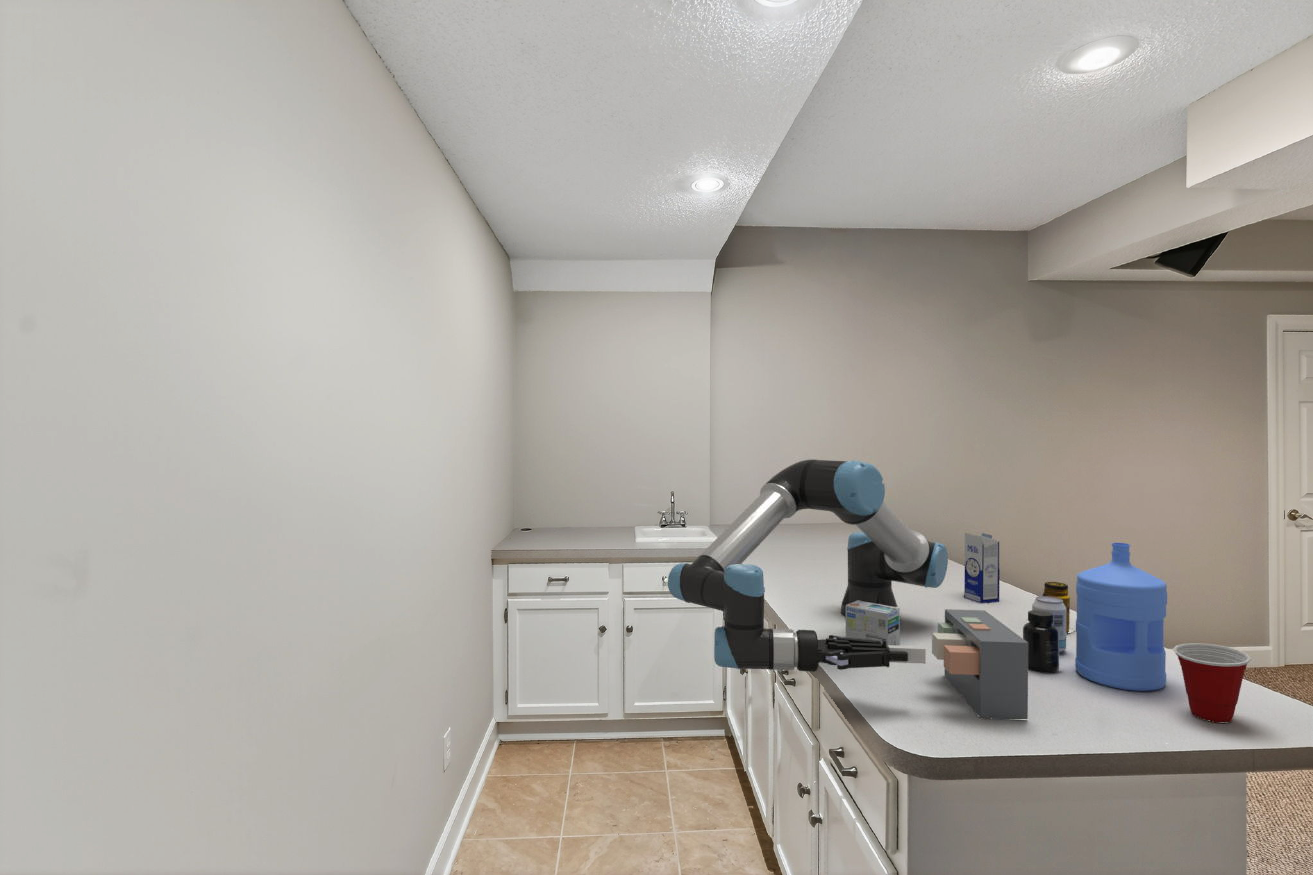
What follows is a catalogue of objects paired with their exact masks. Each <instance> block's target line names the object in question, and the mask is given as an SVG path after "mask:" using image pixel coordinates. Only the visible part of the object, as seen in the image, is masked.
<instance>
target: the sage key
mask: <svg viewBox="0 0 1313 875" xmlns="http://www.w3.org/2000/svg"><path fill="white" fill-rule="evenodd" d="M937 633H949V634H953V623H945V622H937Z"/></svg>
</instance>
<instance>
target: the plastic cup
mask: <svg viewBox="0 0 1313 875" xmlns="http://www.w3.org/2000/svg"><path fill="white" fill-rule="evenodd" d="M1172 649H1173V651H1174V653H1175V655H1176V656H1177V659H1178V661H1179V665H1180V667H1181V673H1182V678H1183V682H1184V688H1185V693H1186V695H1187V699H1188V707H1189V710H1190V713H1191V712H1192V713H1191V715H1192V714H1193V715H1192V716H1194V715H1195V716H1196V718H1197V717H1199V718H1198V719H1200V718H1201V719H1200V720H1202V719H1205V720H1204V721H1206V720H1210V721H1214V722H1213V723H1215V722H1230V721H1231V720H1232V721H1233V718H1234V715H1235V712H1236V706H1237V704H1238V702H1239V697H1240V692H1241V687H1242V684H1243V680H1244V675H1245V672H1246V670H1247V665H1248V664H1249V663H1250V661H1251V659H1252V658H1251V657H1250V656H1249V654H1248V653H1246V652H1244V651H1242V650H1239V649H1236V648H1233V647H1229V646H1226V645H1220V644H1219V645H1218V644H1214V643H1213V644H1212V643H1200V642H1195V643H1194V642H1190V643H1188V642H1187V643H1182V644H1177V645H1175V646H1174V647H1173V648H1172ZM1195 716H1194V717H1195ZM1210 721H1209V722H1210ZM1232 721H1231V722H1232ZM1231 722H1230V723H1231Z"/></svg>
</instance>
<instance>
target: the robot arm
mask: <svg viewBox="0 0 1313 875" xmlns="http://www.w3.org/2000/svg"><path fill="white" fill-rule="evenodd" d="M883 481H884V478H883V476H882V474H881V472H880V471H879V469H878V468H877V467H876V466H874V465H873V464H871V463H869V462H863V461H859V460H848V461H847V460H830V459H829V460H828V459H827V460H826V459H806V460H800V461H798V462H795V463H794V464H790V465H789V466H787V467H785V468H783V469H781V470H780V471H779V472H778V473H776V474H775V475H773V476H772V477H771V478H770V479H769V480H767V481H766V483H765V484H764V485H762V486H761V488H760V491H759V495H758V497H757V498H756V499H755V500H753V501H752V503H751V504H750V505H748V507H747V508H745V510H743V512H742V513H740V515H738V516H737V518H735V520H734V521H733V522H731V524H729V525H728V527H727V528H726V529H724V531H723V532H721V534H720V535H719V536H718V537H717V538H716V539H715V540H714V541H713V542H712V543H710V545H709V546H708V547H707V548H706V549H705V550H703V551H702V553H701V554H699V555H698V557H697V558H696V559H695V560H694V561H693V562H691V563H689V562H685V563H684V562H683V563H681V562H680V563H678V564H675V565H674V566H673V567H672V568H671V569H670V571H669V573H668V577H667V588H668V590H669V593H670V594H671V595H672V596H673V597H674V598H675V599H677V600H680V601H683V602H685V603H688V604H694V605H698V606H703V607H705V608H706V607H707V608H709V609H712V610H717V611H719V612H720V611H721V612H724V614H723V615H724V625H722V626H717V627H716V628H715V630H714V643H713V644H714V645H713V646H714V648H713V650H714V653H713V654H714V655H713V658H714V663H715V665H717V666H718V667H720V668H731V669H737V670H741V669H742V670H743V669H744V670H745V669H746V670H771V671H773V670H774V671H777V672H779V673H782V672H783V671H794V669H795V668H796V669H797V671H799V672H816V671H817V670H818V668H819V663H822V664H827V665H828V666H829V665H830V666H836V669H837V670H840V671H843V670H847V669H860V668H861V669H862V668H879V667H880V668H884V667H885V668H890V663H900V664H902V663H903V664H924V665H925V664H926V663H927V662H926V655H927V652H926V648H925V646H918V645H916V646H915V645H900V646H895V645H888V647H887V641H885V640H883V644H881V642H880V641H874V640H864V639H855V638H846V636H845V637H844V636H840V635H839V636H838V635H833V634H830V635H828V637H827V638H825V639H824V638H822V639H818V638H819V637H818V634H817V632H816V631H815V630H814V629H797V630H796V632H795V631H794V630H793V629H792V628H765V624H764V623H765V592H766V588H765V583H764V582H765V581H764V571H763V570H762V568H761V567H759V566H757V565H754V564H750V563H749V564H745V563H744V562H745V561H746V560H747V559H748V557H749V556H751V554H752V553H753V552H754V551H756V549H758V547H759V546H760V545H761V544H762V542H764V540H766V539H767V537H769V535H770V534H771V533H772V532H773V531H774V530H775V529H776V528H777V527H778V525H780V523H781V522H782V521H784V519H790V518H792V517H793V516H794V515H795V514H796V513H797V512H799V511H802V510H816V511H826V512H831V513H833V514H834V515H835V516H837V517H838V518H839V519H840V521H842V522H843V523H845V524H848V525H852V526H853V525H854V526H856V527H857V528H858V529H859V530H860V531H856V532H853V533H851V534H850V535H849V536H848V539H847V549H846V550H847V587H846V589H845V592H844V595H843V598H842V601H841V605H840V606H841V607H840V612H841V614H842V615H843V616H845V617H846V605H847V604H850V603H852V602H855V601H857V600H859V601H863V602H869V603H875V604H881V605H886V606H892V607H898V604H897V601H896V598H895V595H894V591H893V586H892V582H896V583H903V584H907V585H913V586H919V587H924V588H927V589H928V588H931V589H936V588H939V587H940V586H941V585H942V584H943V582H944V581H945V578H946V574H947V571H948V570H947V569H948V562H949V561H948V560H949V554H948V549H947V547H946V545H944V544H943V543H939V542H938V541H936V542H933V541H932V542H931V541H929V540H928V539H927V538H926V537H925V536H924V535H923V534H922V533H920V532H919V531H916V530H911V529H910V528H909V527H908V526H907V525H906V524H905V523H904V521H902V520H901V519H900V517H899V516H898V515H897V514H896V513H895V512H894V511H893V510H892V509H891V508H890V506H888V504H886V503H885V501H884V500H885V494H886V493H885V492H886V488H885V487H886V486H885V483H883Z"/></svg>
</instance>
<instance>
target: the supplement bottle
mask: <svg viewBox="0 0 1313 875" xmlns="http://www.w3.org/2000/svg"><path fill="white" fill-rule="evenodd" d="M1027 621H1028V622H1026V623H1025V624H1024V625H1023V627H1022V638H1023V639H1024V640H1025V641H1027V642H1028V670H1030V671H1033V672H1037V673H1047V674H1048V673H1049V674H1051V673H1057V672H1058V671H1059V669H1060V653H1059V631H1058V629H1057V628H1056V627H1055V626H1053V625H1052V624H1053V623H1054V620H1053V614H1052V613H1050V612H1046V611H1039V610H1032V609H1031V610H1028V611H1027Z"/></svg>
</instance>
